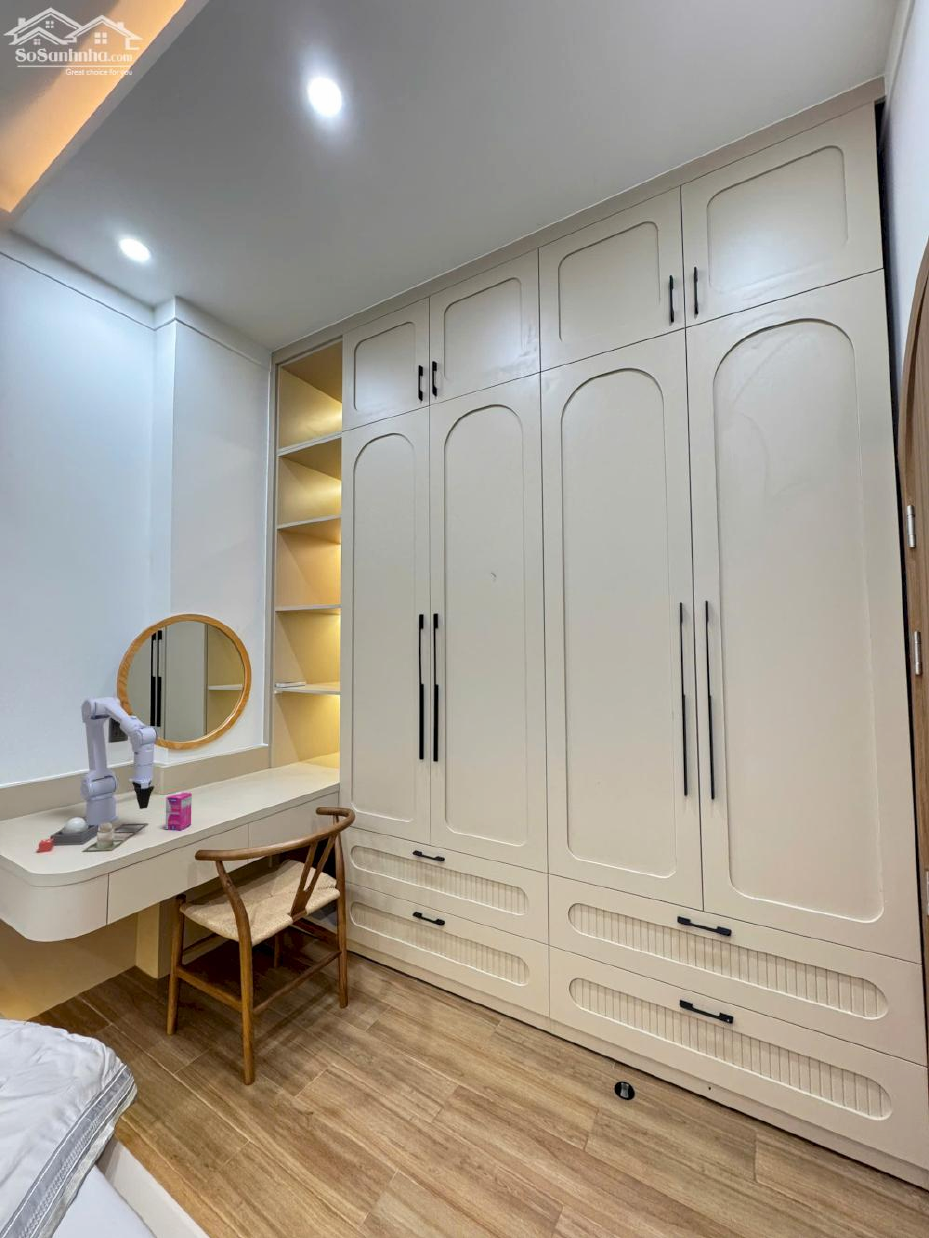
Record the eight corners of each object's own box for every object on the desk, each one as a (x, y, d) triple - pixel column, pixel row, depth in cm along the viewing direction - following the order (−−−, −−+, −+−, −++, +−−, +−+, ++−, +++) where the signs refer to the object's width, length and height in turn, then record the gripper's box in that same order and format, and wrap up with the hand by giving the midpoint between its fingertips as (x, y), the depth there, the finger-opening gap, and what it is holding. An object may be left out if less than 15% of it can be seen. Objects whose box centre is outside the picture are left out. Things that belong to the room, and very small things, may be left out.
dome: (70, 831, 173) (70, 814, 174) (92, 830, 174) (93, 813, 174) (56, 839, 167) (56, 821, 167) (80, 839, 167) (80, 821, 168)
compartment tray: (122, 825, 183) (122, 824, 183) (148, 824, 184) (148, 823, 184) (82, 852, 160) (82, 851, 160) (111, 851, 161) (111, 849, 161)
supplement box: (164, 830, 178) (165, 796, 179) (176, 824, 184) (177, 791, 184) (180, 831, 177) (180, 797, 178) (191, 825, 183) (192, 792, 183)
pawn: (107, 842, 167) (108, 819, 168) (116, 844, 166) (117, 821, 166) (93, 847, 163) (94, 823, 164) (102, 849, 162) (103, 825, 162)
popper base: (67, 833, 175) (67, 824, 175) (102, 832, 176) (102, 823, 177) (45, 846, 164) (45, 836, 164) (82, 845, 166) (83, 835, 166)
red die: (41, 849, 162) (41, 839, 162) (53, 848, 163) (53, 838, 163) (38, 853, 159) (38, 843, 159) (50, 851, 160) (51, 841, 161)
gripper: (128, 761, 180) (127, 801, 179) (130, 770, 168) (129, 813, 168) (151, 758, 184) (150, 798, 184) (156, 767, 172) (155, 809, 172)
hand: (142, 805), depth 176 cm, fingers open, 7 cm apart
